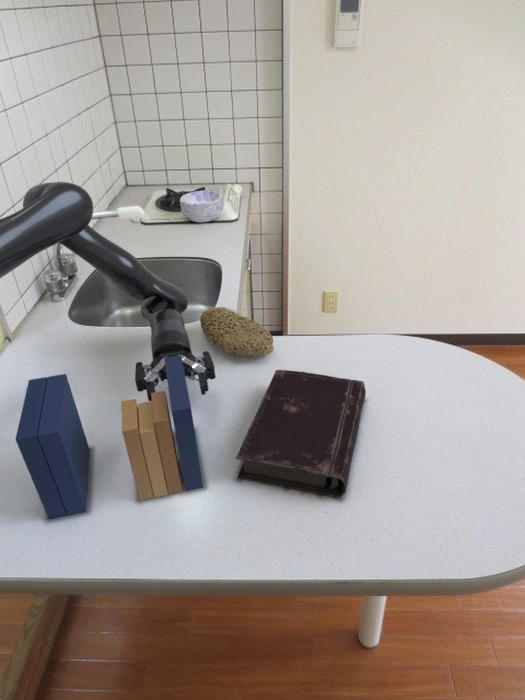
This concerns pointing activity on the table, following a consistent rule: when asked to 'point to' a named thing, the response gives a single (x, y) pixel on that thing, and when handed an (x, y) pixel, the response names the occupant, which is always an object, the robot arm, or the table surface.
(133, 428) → the tan books
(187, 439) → the navy book
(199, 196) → the paper bowls
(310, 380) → the diary
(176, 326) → the robot arm
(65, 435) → the navy book pair
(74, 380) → the table surface
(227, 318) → the sponge
